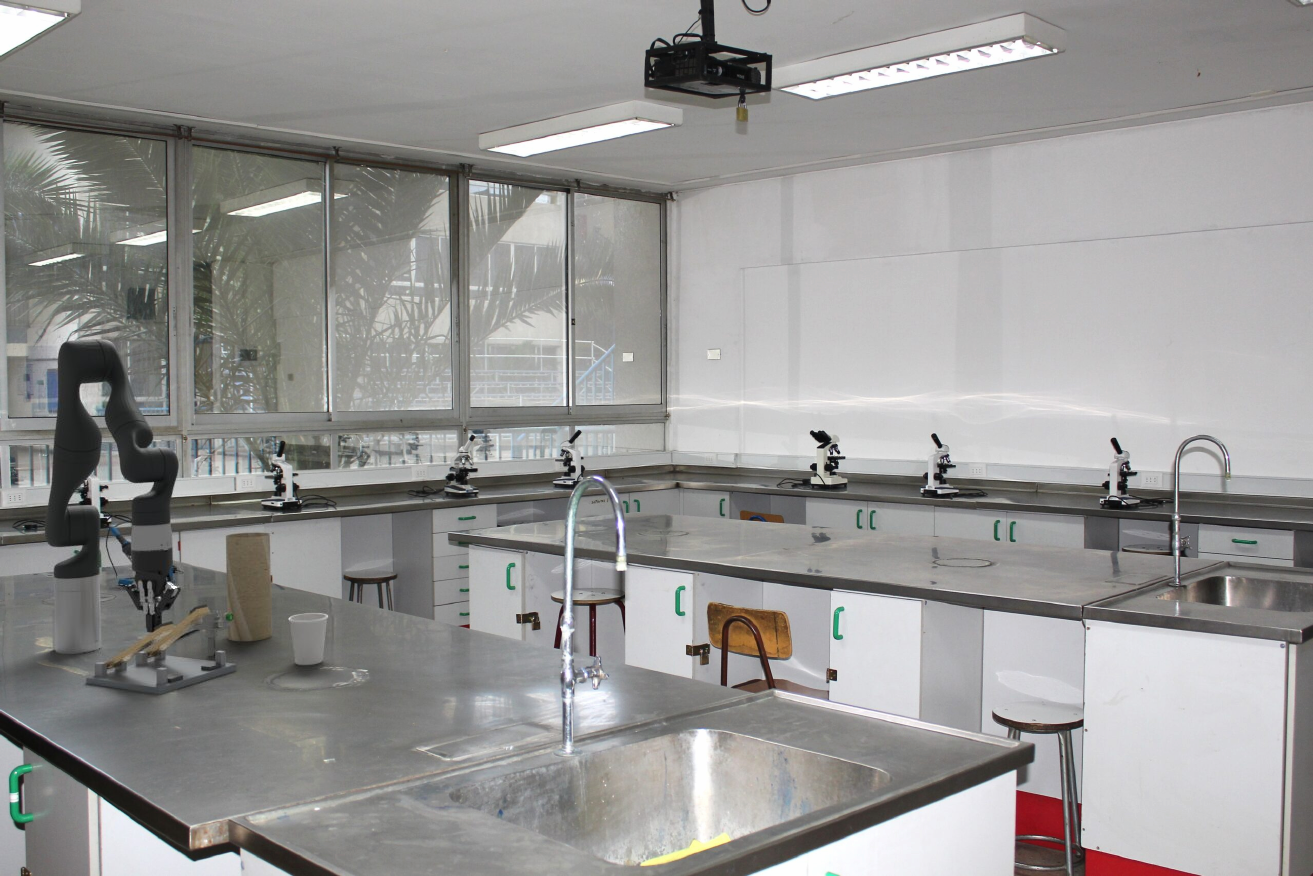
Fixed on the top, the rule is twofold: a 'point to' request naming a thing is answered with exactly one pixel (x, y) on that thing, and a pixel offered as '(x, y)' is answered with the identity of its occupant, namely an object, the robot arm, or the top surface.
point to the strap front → (141, 644)
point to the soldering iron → (127, 550)
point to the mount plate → (160, 672)
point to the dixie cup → (308, 637)
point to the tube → (249, 586)
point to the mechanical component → (213, 627)
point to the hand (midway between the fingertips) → (154, 631)
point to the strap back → (178, 630)
